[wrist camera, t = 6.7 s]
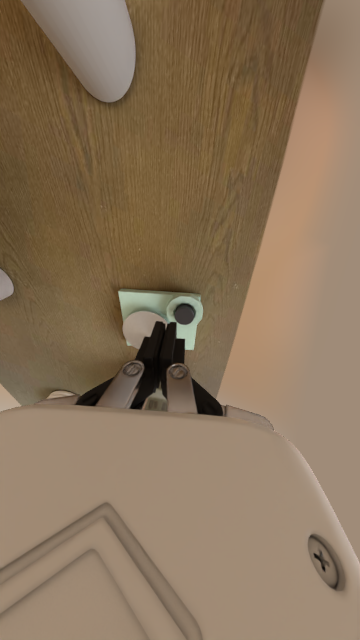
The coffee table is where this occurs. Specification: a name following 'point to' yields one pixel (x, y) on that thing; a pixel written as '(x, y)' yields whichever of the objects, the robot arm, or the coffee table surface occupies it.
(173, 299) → the scale
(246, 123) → the coffee table surface
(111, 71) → the beverage can
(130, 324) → the plate
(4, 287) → the coffee cup
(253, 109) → the coffee table surface
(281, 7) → the coffee table surface
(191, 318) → the button
